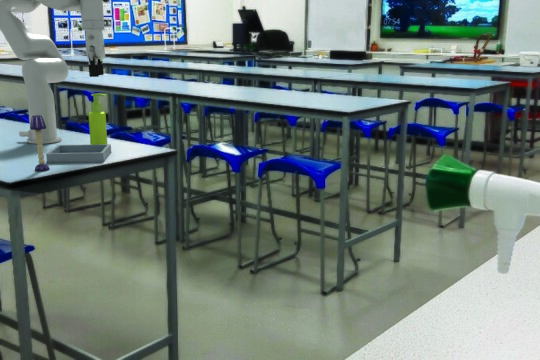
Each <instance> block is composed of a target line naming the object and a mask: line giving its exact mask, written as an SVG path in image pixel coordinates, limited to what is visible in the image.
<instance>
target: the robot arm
mask: <svg viewBox="0 0 540 360" xmlns="http://www.w3.org/2000/svg"><path fill="white" fill-rule="evenodd" d="M41 5H43V6H45V7H47V8H50V9H53V10H57V11H59V12H60V11H62V12H78V13H79V12H80V18H81V30H82V31H84V32H85V49H86V57H87V59H88V75H89V76H88V77H90V78H95V77H98V78H99V77H100V76H104V64H103V61H104V60H103V59H105V58H106V50H105V41H104V40H105V39H104V34H103V33H104V32H103V31H105V19H104V17H105V16H104V2H103V0H0V32H1V33H2V35H3V36H4V38H5V40H6V41H7V43H8V45H9V46H10V48H11V51H13V53H14V55H15V57H17V58H18V59H19V60H23V61H24V63H23V64H22V66H21V74H22V78H23V80H24V85H25V89H26V90H25V91H26V97H27V109H28V120H29V121H28V122H29V125H30V124H31V118H32V116H35V115H41V116H42V117H43V119H44V122H45V124H46V129H42V130H41V135H42V145H44V144H54V143H59V142H61V141H62V136H59V135H58V133H57V132H58V131H57V120H56V119H57V118H56V105H55V104H56V103H55V95H54V92H53V90H52V89H51V87H50V85H49V84H51V83H52V84H53V83H54V84H55V83H61V82H62V83H63V81H65V80H67V78H68V76H69V68H68V65H67V62H66V60H65V59H64V57H63V55H62V54H61V52H60V50H59V49H58V48H57V46H56V44H55V42H54V41H53V40H52V38H50V37H49V36H47V35H45V34H34V33H33V34H32V33H31V32H29V30H28V28H26V25H25V24H24V23H23V21H22V20H21V19H20V18H18V16H16V15H15V14H13V13H18V14H19V13H20V14H22V13H23V14H27V13H31V12H34V11H35V10H36V9H37V8H39V6H41ZM18 135H19V137H22V138H23V137H27V138H26V142H27V143H28V144H36V145H37V142H36V140H37V139H36V133H35V130H31V129H30V128H29V130H28V131H26V130H25V131H22V130H21V131H19V132H18Z"/></svg>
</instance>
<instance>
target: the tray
mask: <svg viewBox="0 0 540 360" xmlns="http://www.w3.org/2000/svg"><path fill="white" fill-rule="evenodd" d="M111 154H112V145H111V144H110V143H107V144H95V145H91V144H57V145H56V146H55V147H53V148H52V149H50V150H49V151H48V152H47V153H45V157H46V163H47V164H62V163H65V164H67V163H68V164H71V163H73V164H74V163H104V162H105V161H107V159H108V158H109V156H110V155H111Z"/></svg>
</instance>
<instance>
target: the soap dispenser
mask: <svg viewBox="0 0 540 360" xmlns="http://www.w3.org/2000/svg"><path fill="white" fill-rule="evenodd" d="M90 96H92V97H93V102H91V111H90V112H88V127H89V139H90V141H89V143H90V144H89V145H95V144H108V134H107V133H108V132H107V117H106V115H107V113H106V112H105V111H103V110H102V102H100V100H99V98H100V97H107V96H108V94H106V93H101V92H100V93H99V92H98V93H91V94H90ZM99 96H100V97H99Z"/></svg>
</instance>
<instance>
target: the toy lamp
mask: <svg viewBox="0 0 540 360" xmlns="http://www.w3.org/2000/svg"><path fill="white" fill-rule="evenodd" d="M30 129H31V130H35V133H36V139H37V140H36V142H37V144H36V149H37V154H38V155H37V157H38V164H37V165H36V166H35V167H34V171H35V172H45V171H49V170H50V166H49V165H48V163H47V164H46V163H45V162H46V161H45V155H44V154H45V153H44V144H42V135H41V130H42V129H46V124H45V122H44V119H43V117H42V116H41V115H35V116H32V118H31V124H30V123H29V130H30Z"/></svg>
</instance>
